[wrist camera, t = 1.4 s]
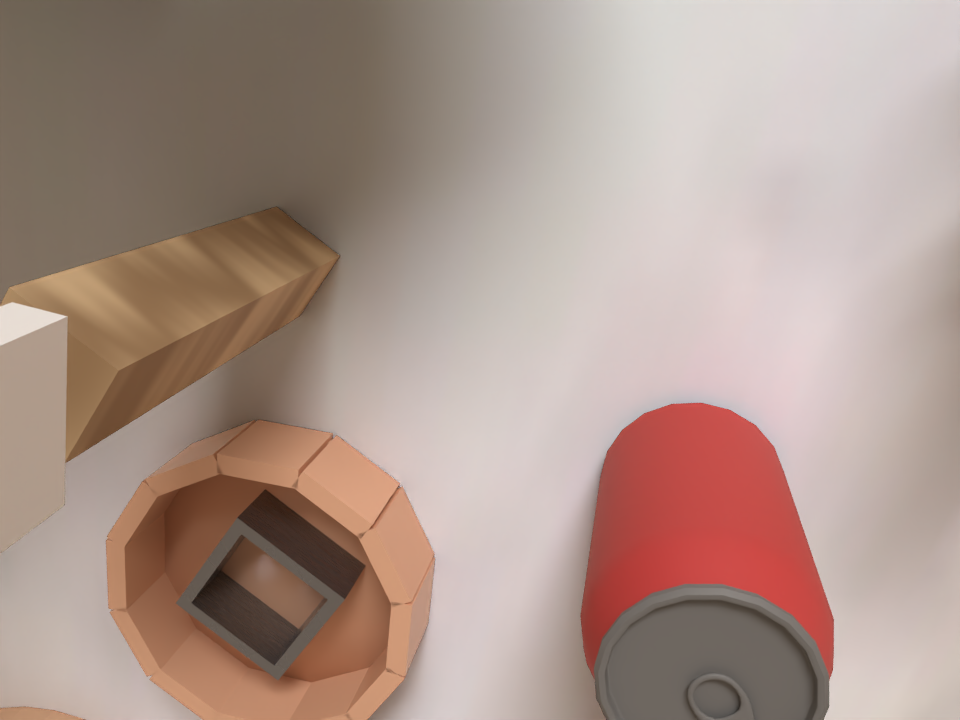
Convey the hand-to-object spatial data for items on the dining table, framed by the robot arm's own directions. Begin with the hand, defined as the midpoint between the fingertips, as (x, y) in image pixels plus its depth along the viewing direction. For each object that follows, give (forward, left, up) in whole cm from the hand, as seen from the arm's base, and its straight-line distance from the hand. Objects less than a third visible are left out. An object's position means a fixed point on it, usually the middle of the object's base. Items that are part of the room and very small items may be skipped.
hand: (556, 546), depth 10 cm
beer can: (+7, -5, -21) cm, 23 cm away
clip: (-3, -19, -21) cm, 28 cm away
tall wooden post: (-10, -8, -21) cm, 24 cm away
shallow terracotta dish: (-3, -19, -21) cm, 28 cm away
